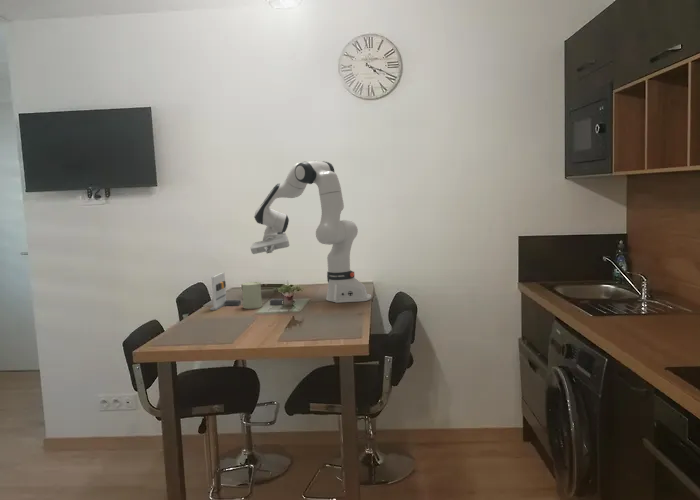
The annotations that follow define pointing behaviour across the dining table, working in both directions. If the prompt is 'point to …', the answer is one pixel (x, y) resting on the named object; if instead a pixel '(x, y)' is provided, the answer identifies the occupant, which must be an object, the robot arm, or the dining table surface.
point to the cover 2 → (276, 301)
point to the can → (251, 295)
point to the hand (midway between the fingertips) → (269, 251)
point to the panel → (218, 291)
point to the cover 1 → (232, 302)
